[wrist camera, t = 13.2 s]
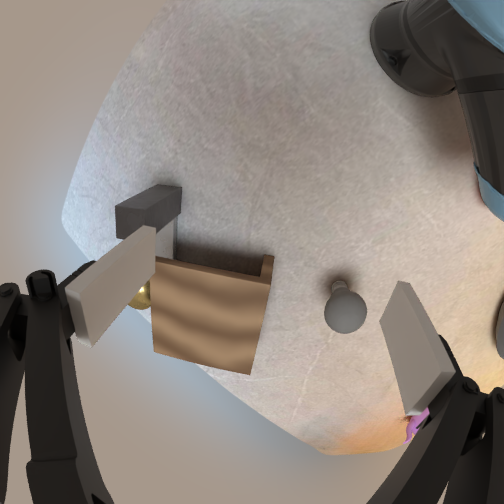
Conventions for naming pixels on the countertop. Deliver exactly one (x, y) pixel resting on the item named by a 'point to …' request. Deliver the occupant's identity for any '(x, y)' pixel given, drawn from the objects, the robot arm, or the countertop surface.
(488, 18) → the robot arm
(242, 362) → the shelf
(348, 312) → the light bulb
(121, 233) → the l-shaped hook tool
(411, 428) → the teapot
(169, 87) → the countertop surface
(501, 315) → the flat disc
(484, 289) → the countertop surface
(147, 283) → the ball
